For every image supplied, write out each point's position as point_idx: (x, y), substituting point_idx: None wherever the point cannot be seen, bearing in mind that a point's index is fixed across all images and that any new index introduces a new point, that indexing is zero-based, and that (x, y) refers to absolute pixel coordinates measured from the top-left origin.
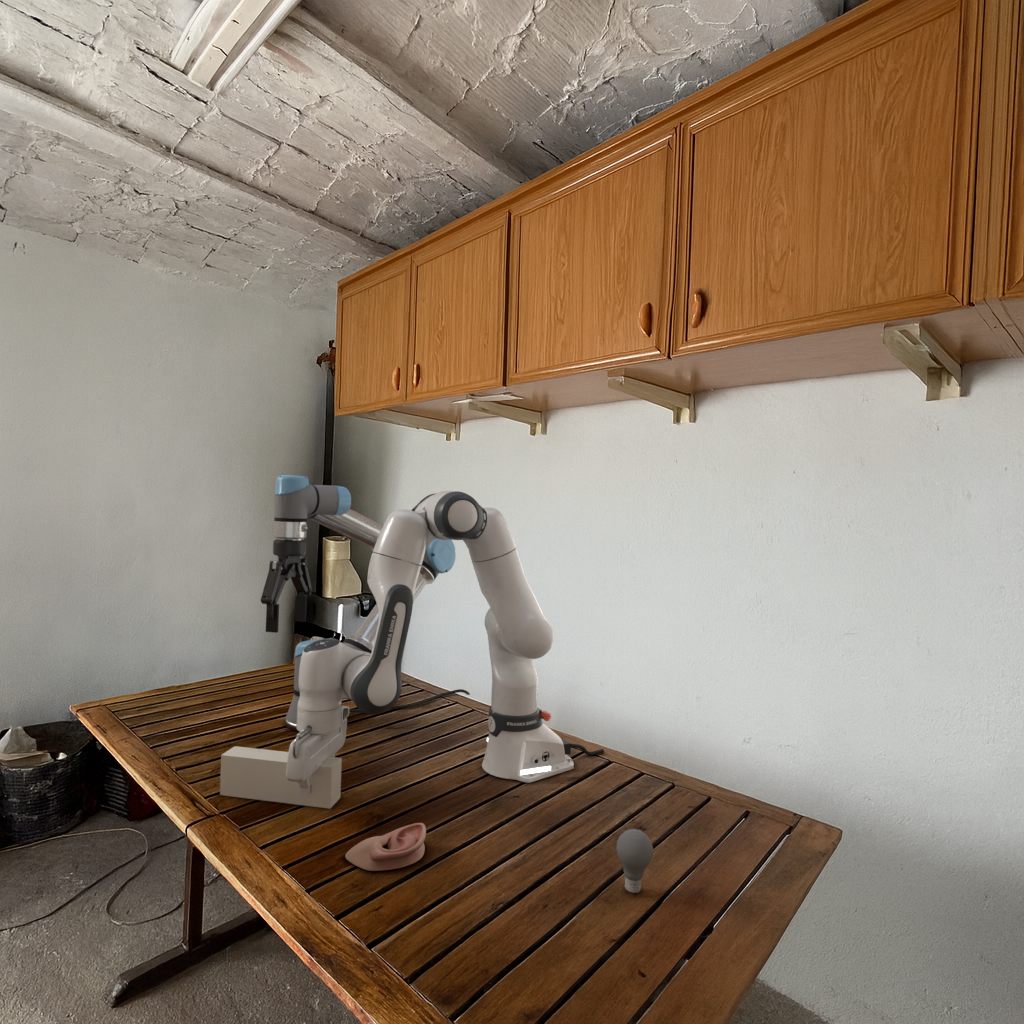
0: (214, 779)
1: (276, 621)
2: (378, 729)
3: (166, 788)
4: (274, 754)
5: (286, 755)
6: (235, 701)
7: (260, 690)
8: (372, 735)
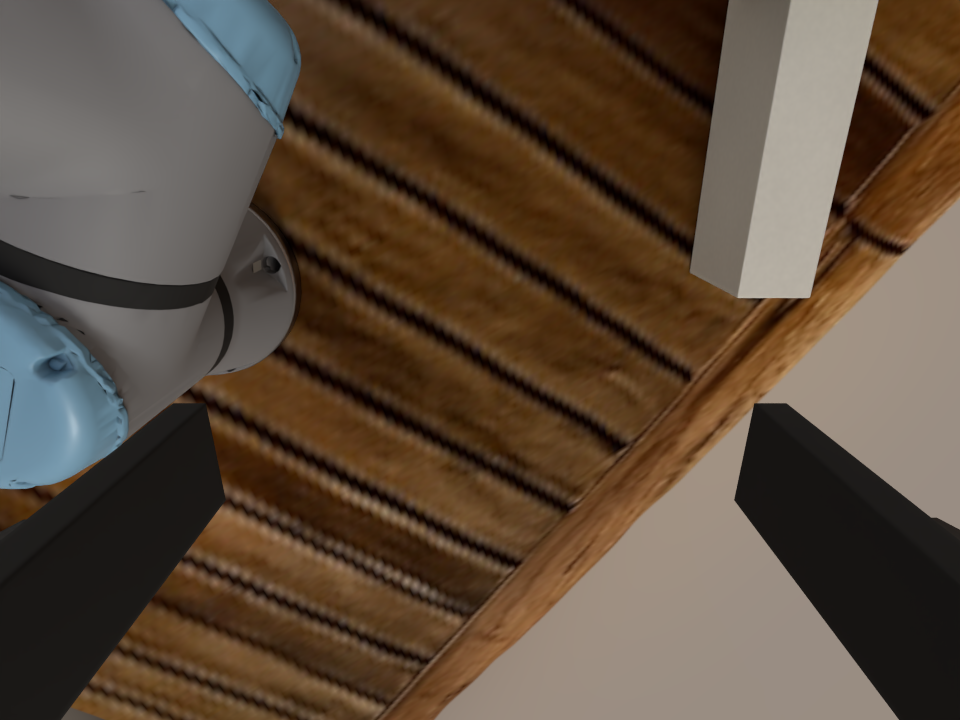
0: (662, 335)
1: (863, 467)
2: None
3: (721, 408)
4: (800, 128)
5: (807, 79)
6: None
7: None
8: None
